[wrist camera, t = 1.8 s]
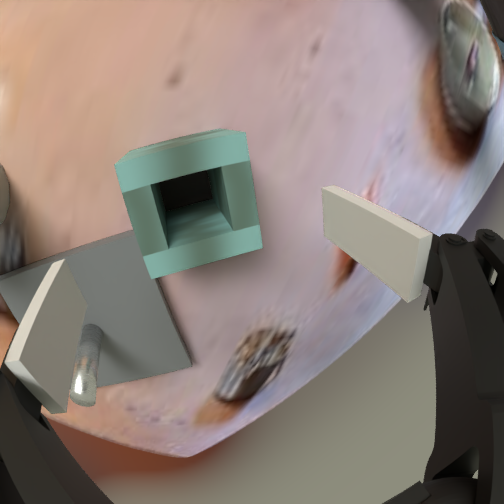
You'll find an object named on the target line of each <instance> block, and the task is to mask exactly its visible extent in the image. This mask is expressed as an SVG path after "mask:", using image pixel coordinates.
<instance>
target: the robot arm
mask: <svg viewBox="0 0 504 504" xmlns="http://www.w3.org/2000/svg"><path fill="white" fill-rule="evenodd" d="M480 2H481V4H482V6H483V9H484V11H485V13H486V15H487V18H488V20H489V22H490V25H491V27H492V34H493V36H494V38H495V39H496V41H497V43H498V46H499V48H500V51H501V53H502V56H503V59H504V0H480ZM322 201H323V222H324V236H325V237H326V238H327V239H329V240H330V241H331V242H333V243H334V244H335V245H337V246H338V247H339V248H340V249H342V250H343V251H344V252H346V253H347V254H348V255H349V256H351V257H352V258H353V259H355V260H356V261H357V262H358V263H360V264H361V265H362V266H363V267H365V268H366V269H367V270H368V271H370V272H371V273H372V274H373V275H375V276H376V277H377V278H378V279H380V280H381V281H382V282H383V283H385V284H386V285H387V286H388V287H389V288H391V289H392V290H393V291H394V292H395V293H397V294H398V295H399V296H400V297H401V298H403V299H404V300H405V301H406V302H407V303H409V302H410V301H412V300H414V299H416V298H418V297H419V296H420V295H421V291H422V287H423V283H424V284H426V285H427V286H429V290H428V294H427V298H426V302H425V305H424V310H426V308H427V306H428V305H429V308H430V315H431V323H432V331H433V341H434V352H435V369H436V429H435V430H436V431H435V443H434V448H433V451H432V454H431V456H430V458H429V461H428V463H427V466H426V470H425V475H424V482H423V483H421V482H420V481H419V482H417V483H415V484H414V485H412V486H411V487H409V488H408V489H406V490H404V491H403V492H401V493H400V494H398V495H396V496H394V497H393V498H391V499H389V500H388V501H386V502H384V503H383V504H504V240H503V239H502V238H501V237H500V236H499V235H498V234H497V233H495V232H493V231H492V230H489V229H479V230H477V231H476V236H475V241H472V242H468V241H467V240H466V239H465V238H463V237H461V236H459V235H456V234H443V235H441V236H440V237H439V236H437V235H435V234H433V233H432V232H430V231H428V230H426V229H424V228H423V227H421V226H418V225H417V224H415V223H413V222H411V221H409V220H407V219H405V218H404V217H401V216H399V215H397V214H395V213H393V212H391V211H389V210H387V209H385V208H383V207H381V206H379V205H376V204H374V203H372V202H370V201H368V200H366V199H364V198H362V197H359V196H357V195H355V194H353V193H351V192H348V191H346V190H344V189H342V188H339V187H337V186H335V185H332V186H328V187H323V188H322ZM494 269H495V270H496V272H497V277H496V281H495V283H494V285H493V284H492V283H491V282H490V281H491V278H492V275H493V271H494ZM86 308H87V303H86V301H85V299H84V297H83V295H82V293H81V291H80V289H79V287H78V285H77V283H76V281H75V279H74V277H73V275H72V273H71V271H70V269H69V266H68V264H67V262H66V260H65V259H63V260H60V261H57V262H54V263H53V264H52V265H51V267H50V269H49V270H48V272H47V274H46V275H45V277H44V279H43V281H42V283H41V284H40V286H39V288H38V290H37V292H36V294H35V295H34V297H33V299H32V301H31V303H30V305H29V307H28V309H27V311H26V313H25V315H24V317H23V319H22V321H21V324H20V326H19V327H18V329H17V330H16V331H15V333H14V336H13V338H12V341H11V343H10V345H9V349H8V350H7V352H6V355H5V357H4V360H3V363H2V365H1V368H0V504H114V503H113V502H112V501H111V500H110V499H109V498H108V497H107V496H106V495H105V494H104V493H103V492H102V491H101V490H100V489H99V488H98V486H97V485H96V484H95V483H94V482H93V481H92V480H91V479H90V477H88V475H87V474H86V473H85V471H84V470H83V469H82V468H81V467H80V465H79V464H78V463H77V462H76V460H75V459H74V458H73V456H72V455H71V454H70V452H69V451H68V450H67V448H66V447H65V446H64V444H63V443H62V441H61V440H60V438H59V437H58V435H57V434H56V432H55V431H54V429H53V428H52V426H51V425H50V423H49V422H48V420H47V418H46V417H45V416H44V415H43V414H42V413H41V406H42V405H43V406H44V407H45V408H46V409H47V410H48V411H49V412H50V413H51V414H55V413H66V412H67V405H68V397H69V390H70V384H71V377H72V371H73V366H74V361H75V355H76V350H77V346H78V341H79V337H80V332H81V328H82V324H83V320H84V316H85V312H86ZM477 470H478V479H474V478H472V477H473V475H474V473H475V472H476V471H477Z"/></svg>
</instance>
